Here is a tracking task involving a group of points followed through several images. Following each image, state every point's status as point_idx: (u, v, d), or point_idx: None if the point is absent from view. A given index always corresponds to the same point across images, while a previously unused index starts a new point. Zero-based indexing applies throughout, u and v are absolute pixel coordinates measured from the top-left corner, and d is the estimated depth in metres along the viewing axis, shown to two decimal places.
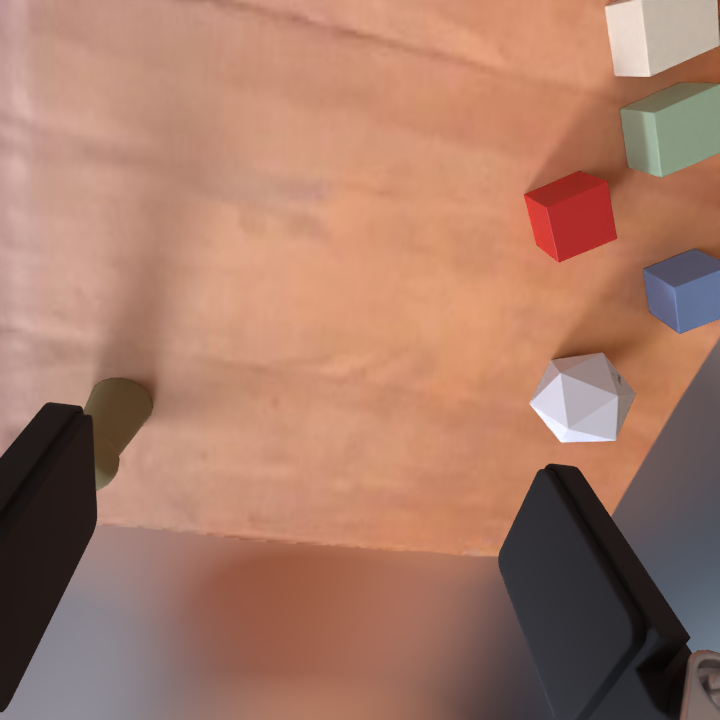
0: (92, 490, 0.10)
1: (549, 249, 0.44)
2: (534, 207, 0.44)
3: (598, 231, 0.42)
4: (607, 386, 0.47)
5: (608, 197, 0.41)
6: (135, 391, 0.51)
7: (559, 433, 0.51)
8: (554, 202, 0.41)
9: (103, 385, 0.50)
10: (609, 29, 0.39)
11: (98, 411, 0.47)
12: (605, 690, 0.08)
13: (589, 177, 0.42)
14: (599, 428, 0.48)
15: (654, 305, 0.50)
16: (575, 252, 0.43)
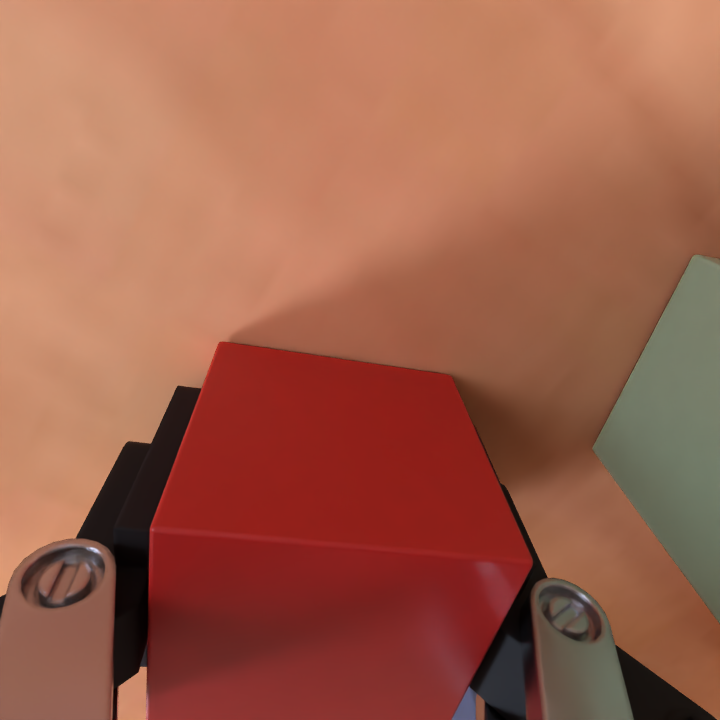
0: None
1: None
2: None
3: (376, 712, 0.08)
4: None
5: (494, 623, 0.07)
6: None
7: None
8: (218, 525, 0.06)
9: None
10: None
11: None
12: None
13: (467, 447, 0.09)
14: None
15: None
16: None
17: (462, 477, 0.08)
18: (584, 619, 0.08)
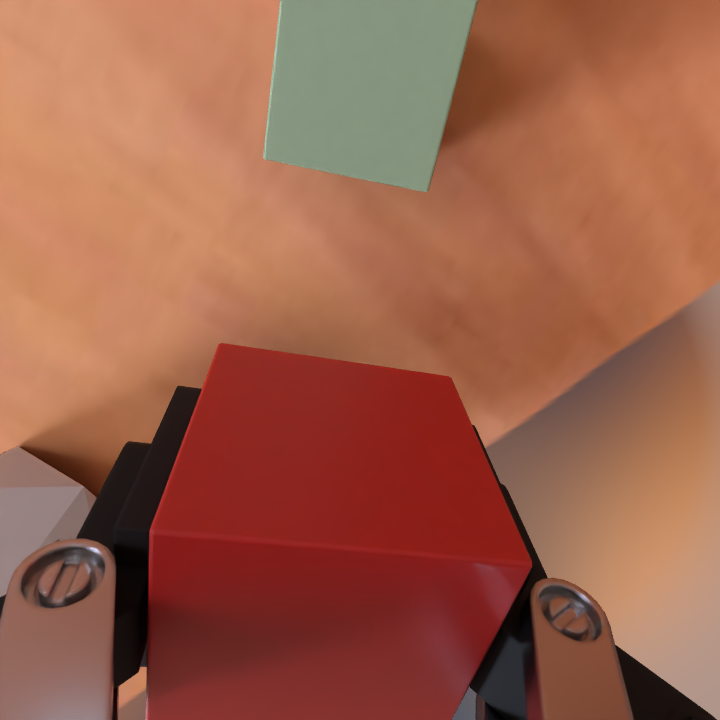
0: None
1: None
2: None
3: (375, 713, 0.08)
4: None
5: (494, 625, 0.07)
6: None
7: None
8: (217, 528, 0.06)
9: None
10: None
11: None
12: None
13: (467, 449, 0.09)
14: None
15: None
16: None
17: (461, 479, 0.08)
18: (584, 619, 0.08)
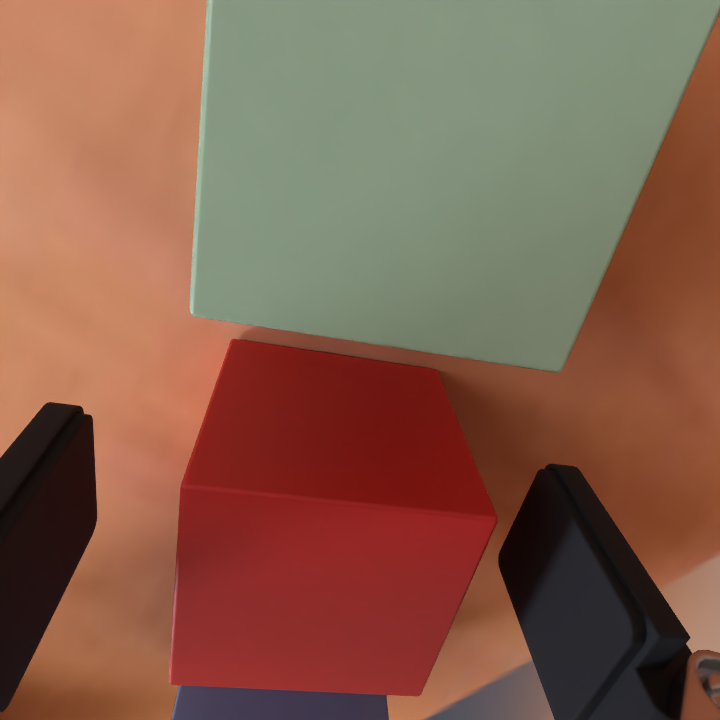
0: (92, 490, 0.10)
1: None
2: None
3: (368, 656, 0.10)
4: None
5: (467, 573, 0.09)
6: None
7: None
8: (236, 484, 0.08)
9: None
10: None
11: None
12: (605, 690, 0.08)
13: (447, 429, 0.10)
14: None
15: None
16: (249, 681, 0.10)
17: (441, 452, 0.10)
18: None
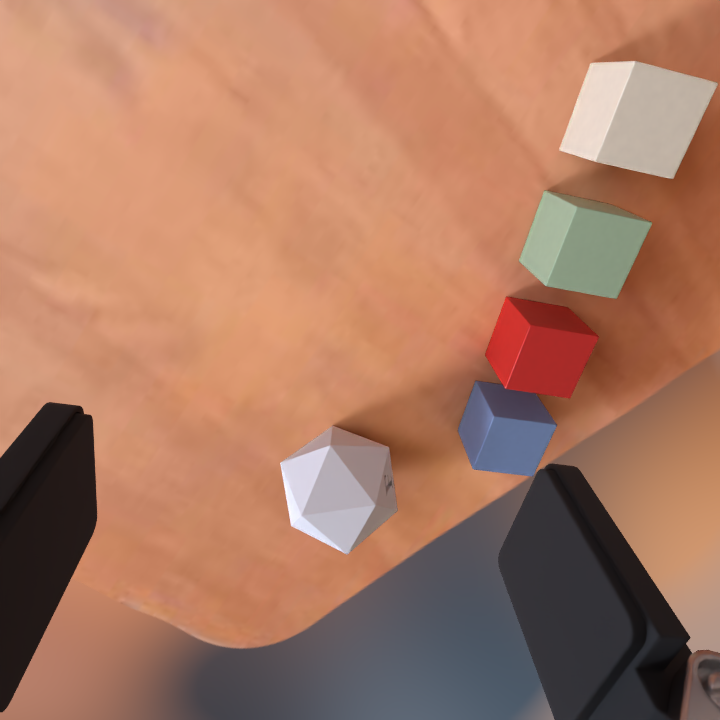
0: (92, 490, 0.10)
1: (501, 368, 0.37)
2: (512, 316, 0.36)
3: (559, 381, 0.36)
4: (370, 487, 0.37)
5: (589, 353, 0.35)
6: None
7: (292, 514, 0.39)
8: (540, 325, 0.34)
9: None
10: (581, 91, 0.31)
11: None
12: (605, 690, 0.08)
13: (579, 320, 0.36)
14: (337, 532, 0.37)
15: (466, 425, 0.42)
16: (526, 388, 0.36)
17: (580, 325, 0.36)
18: None
